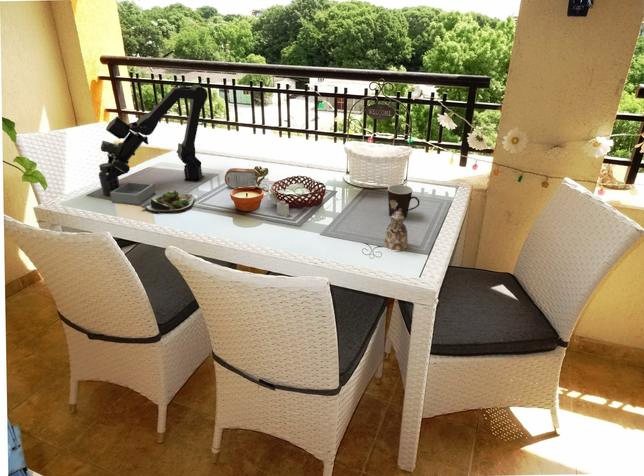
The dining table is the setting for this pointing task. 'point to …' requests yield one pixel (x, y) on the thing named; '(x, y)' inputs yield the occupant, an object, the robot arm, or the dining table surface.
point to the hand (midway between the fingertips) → (105, 177)
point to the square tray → (132, 193)
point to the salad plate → (170, 203)
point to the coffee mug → (400, 199)
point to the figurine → (396, 232)
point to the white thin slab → (280, 205)
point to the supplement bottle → (107, 185)
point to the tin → (240, 178)
